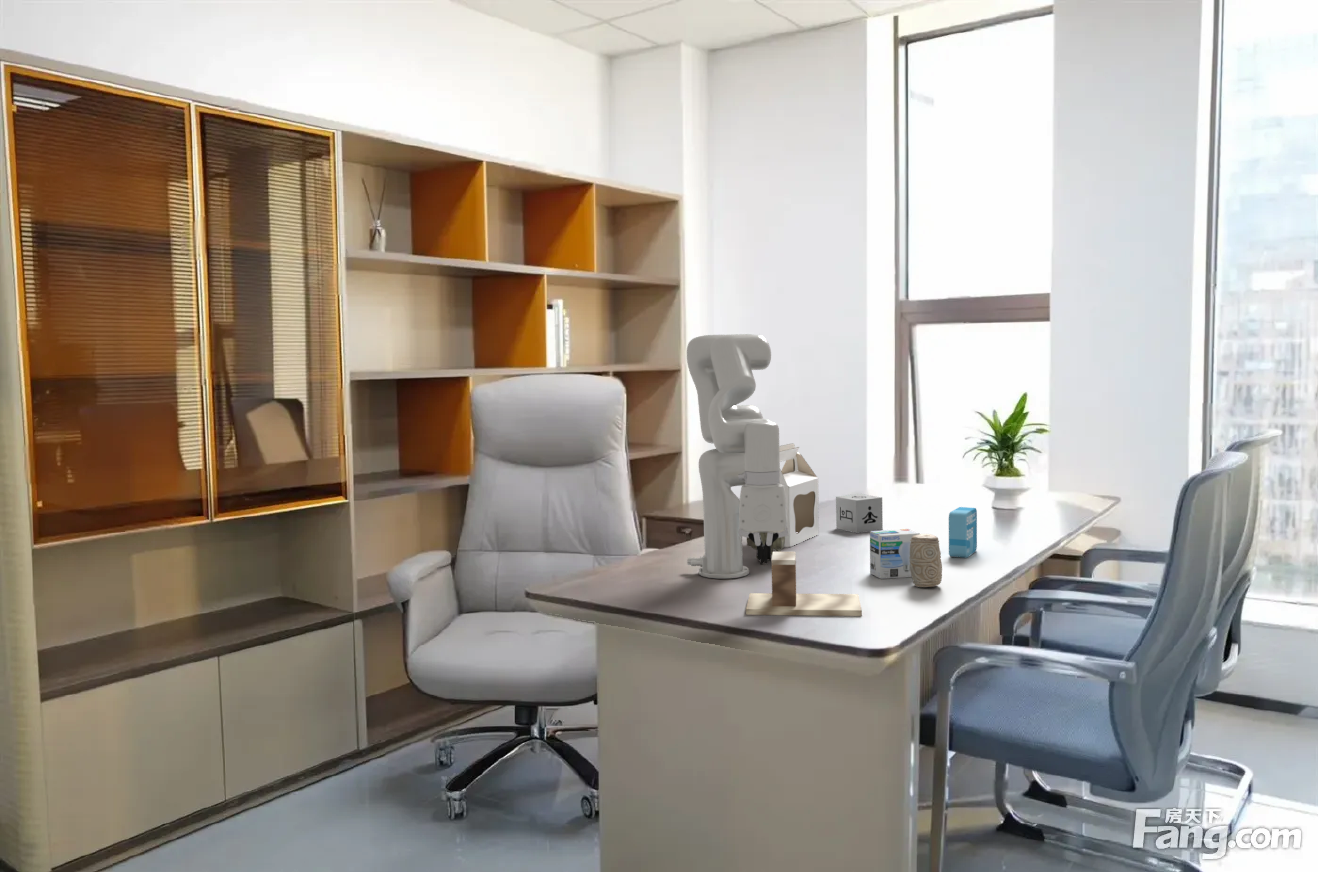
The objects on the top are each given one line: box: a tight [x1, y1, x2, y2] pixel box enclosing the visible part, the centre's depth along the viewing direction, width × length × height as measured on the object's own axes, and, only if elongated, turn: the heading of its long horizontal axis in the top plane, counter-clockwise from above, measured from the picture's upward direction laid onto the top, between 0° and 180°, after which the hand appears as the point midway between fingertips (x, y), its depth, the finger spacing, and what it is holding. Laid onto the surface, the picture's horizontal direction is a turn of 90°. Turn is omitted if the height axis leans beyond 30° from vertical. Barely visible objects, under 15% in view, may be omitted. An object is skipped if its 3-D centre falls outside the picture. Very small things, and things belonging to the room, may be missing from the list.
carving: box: [909, 533, 943, 588], centre depth 229 cm, size 6×8×12 cm
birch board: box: [745, 592, 863, 617], centre depth 214 cm, size 24×14×1 cm, turn 81°
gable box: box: [779, 443, 820, 548], centre depth 292 cm, size 22×13×28 cm, turn 149°
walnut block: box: [771, 551, 797, 607], centre depth 214 cm, size 5×9×10 cm, turn 172°
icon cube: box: [835, 493, 883, 534], centre depth 306 cm, size 10×10×10 cm
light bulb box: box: [869, 528, 921, 580], centre depth 242 cm, size 11×7×11 cm, turn 101°
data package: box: [948, 506, 978, 559], centre depth 265 cm, size 12×4×12 cm, turn 149°
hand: (764, 562), depth 215 cm, fingers closed
